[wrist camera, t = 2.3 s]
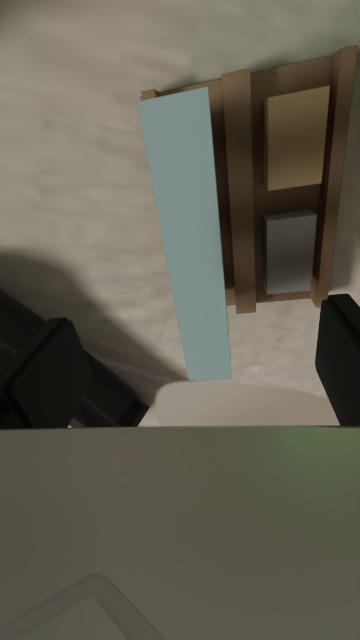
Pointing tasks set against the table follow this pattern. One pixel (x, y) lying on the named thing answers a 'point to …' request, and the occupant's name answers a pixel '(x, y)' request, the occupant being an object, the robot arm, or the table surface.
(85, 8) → the table surface
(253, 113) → the rack
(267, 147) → the offcut
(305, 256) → the offcut
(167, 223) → the panel
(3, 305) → the magazine
